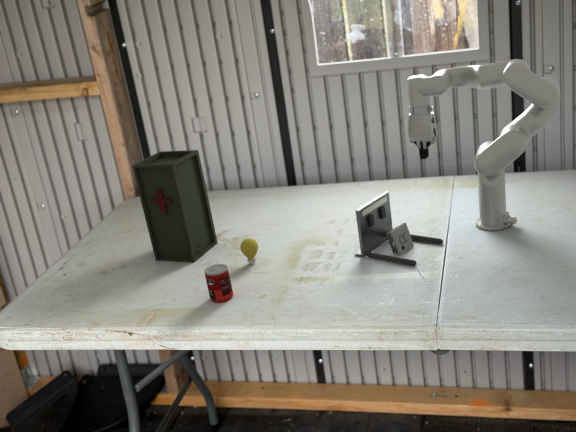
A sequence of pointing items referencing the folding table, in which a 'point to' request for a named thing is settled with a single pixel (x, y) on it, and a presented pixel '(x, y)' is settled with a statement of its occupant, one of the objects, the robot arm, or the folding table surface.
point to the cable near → (391, 259)
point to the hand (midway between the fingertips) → (424, 158)
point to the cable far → (426, 239)
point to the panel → (373, 223)
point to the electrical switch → (400, 239)
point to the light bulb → (249, 250)
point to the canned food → (218, 283)
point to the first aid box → (176, 205)
